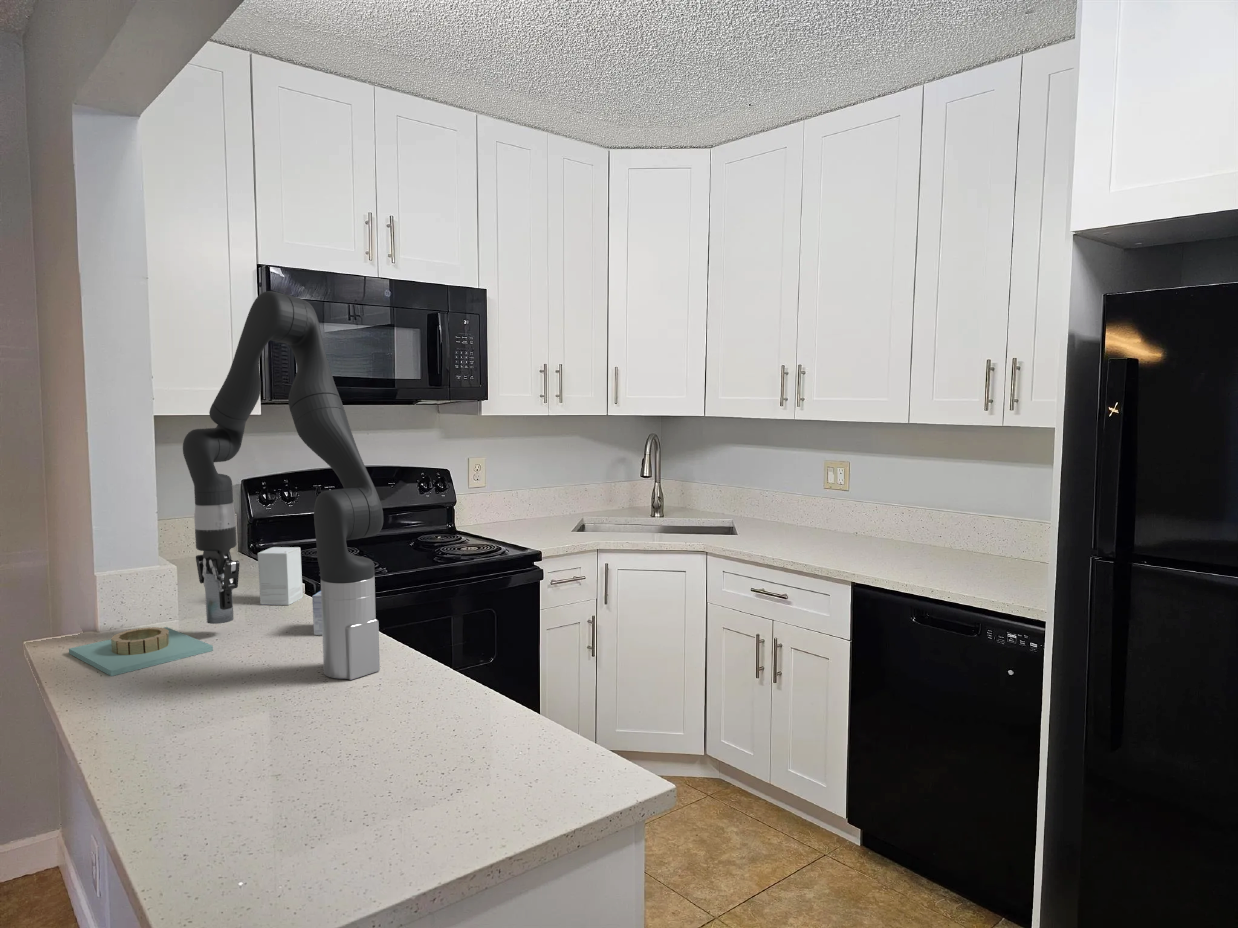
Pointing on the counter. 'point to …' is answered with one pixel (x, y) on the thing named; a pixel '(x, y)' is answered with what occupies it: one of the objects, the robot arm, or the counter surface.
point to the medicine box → (317, 613)
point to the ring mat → (118, 664)
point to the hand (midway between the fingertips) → (219, 606)
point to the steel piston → (215, 602)
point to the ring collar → (140, 641)
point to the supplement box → (280, 575)
